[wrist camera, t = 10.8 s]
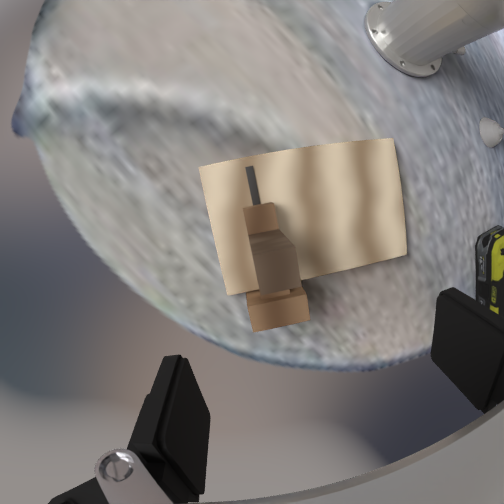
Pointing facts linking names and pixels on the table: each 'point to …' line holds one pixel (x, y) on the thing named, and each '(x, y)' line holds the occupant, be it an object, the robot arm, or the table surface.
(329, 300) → the table surface
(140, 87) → the table surface
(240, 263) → the birch board
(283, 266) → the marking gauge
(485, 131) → the chalice
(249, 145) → the table surface
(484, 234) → the power drill
